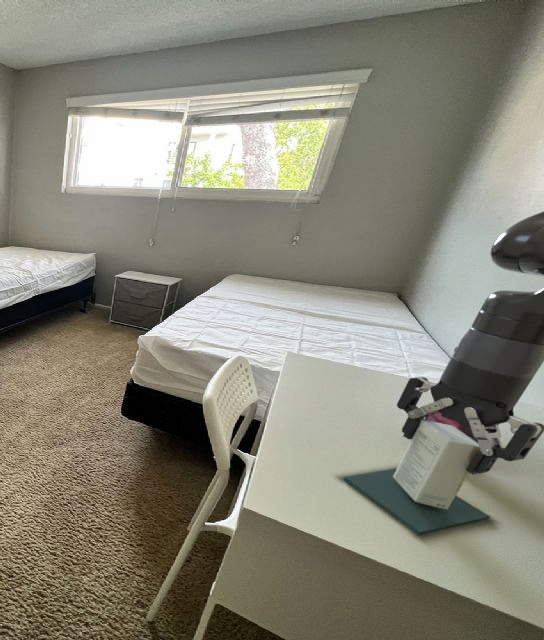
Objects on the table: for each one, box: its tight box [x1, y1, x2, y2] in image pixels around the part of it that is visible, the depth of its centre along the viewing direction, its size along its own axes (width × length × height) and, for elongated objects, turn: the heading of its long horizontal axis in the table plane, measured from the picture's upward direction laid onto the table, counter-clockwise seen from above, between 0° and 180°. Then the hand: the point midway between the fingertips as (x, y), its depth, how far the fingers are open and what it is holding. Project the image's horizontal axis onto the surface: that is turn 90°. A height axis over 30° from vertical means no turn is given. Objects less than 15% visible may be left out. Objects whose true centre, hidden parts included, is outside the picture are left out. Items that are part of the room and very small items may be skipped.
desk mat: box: [343, 468, 491, 536], centre depth 59 cm, size 16×11×1 cm
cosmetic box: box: [393, 420, 481, 509], centre depth 57 cm, size 6×4×12 cm
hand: (438, 453), depth 56 cm, fingers closed on cosmetic box, 7 cm apart
